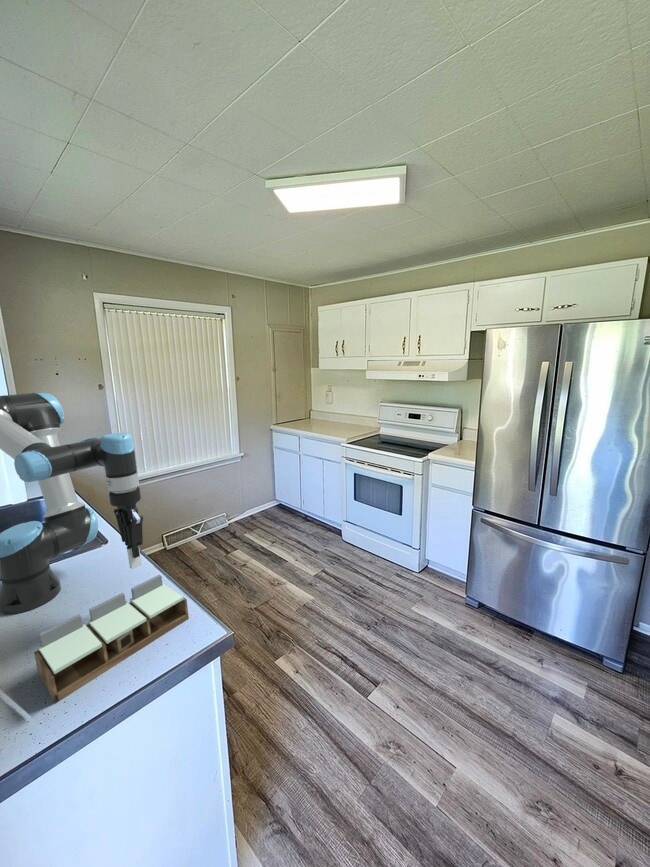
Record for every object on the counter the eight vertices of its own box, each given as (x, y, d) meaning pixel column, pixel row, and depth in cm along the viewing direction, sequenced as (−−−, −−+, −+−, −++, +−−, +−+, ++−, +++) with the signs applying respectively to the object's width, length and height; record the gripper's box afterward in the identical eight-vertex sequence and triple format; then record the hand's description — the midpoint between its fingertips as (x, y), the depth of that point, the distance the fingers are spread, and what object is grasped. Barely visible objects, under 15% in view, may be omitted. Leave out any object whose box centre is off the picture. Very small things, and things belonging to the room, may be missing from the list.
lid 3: (130, 601, 97) (128, 589, 96) (162, 584, 104) (161, 573, 103) (150, 618, 90) (148, 605, 89) (183, 599, 97) (182, 587, 97)
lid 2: (88, 623, 89) (86, 610, 88) (126, 603, 96) (124, 591, 95) (107, 643, 82) (104, 629, 82) (146, 620, 89) (144, 607, 89)
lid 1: (38, 649, 81) (35, 635, 80) (83, 625, 88) (81, 612, 88) (54, 674, 74) (51, 658, 74) (102, 646, 82) (99, 632, 81)
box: (39, 678, 82) (34, 652, 81) (167, 604, 106) (164, 584, 105) (56, 706, 75) (50, 678, 74) (189, 621, 99) (186, 599, 98)
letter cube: (109, 648, 89) (107, 634, 89) (124, 637, 93) (122, 623, 92) (119, 653, 88) (117, 639, 87) (134, 642, 91) (132, 628, 90)
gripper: (99, 488, 99) (112, 565, 103) (120, 497, 91) (132, 580, 95) (127, 481, 105) (138, 554, 109) (149, 489, 97) (159, 567, 101)
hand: (135, 566), depth 102 cm, fingers closed
